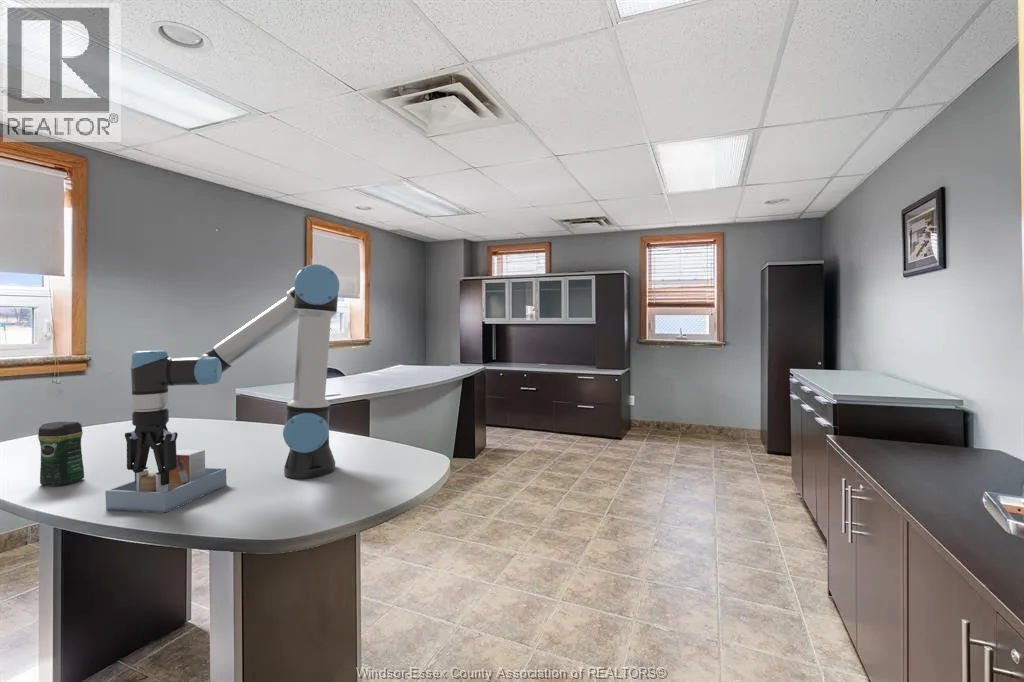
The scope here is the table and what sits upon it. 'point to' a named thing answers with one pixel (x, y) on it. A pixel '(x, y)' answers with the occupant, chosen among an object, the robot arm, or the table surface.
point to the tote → (163, 494)
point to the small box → (187, 468)
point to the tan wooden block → (148, 482)
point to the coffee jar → (60, 453)
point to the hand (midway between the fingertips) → (152, 496)
